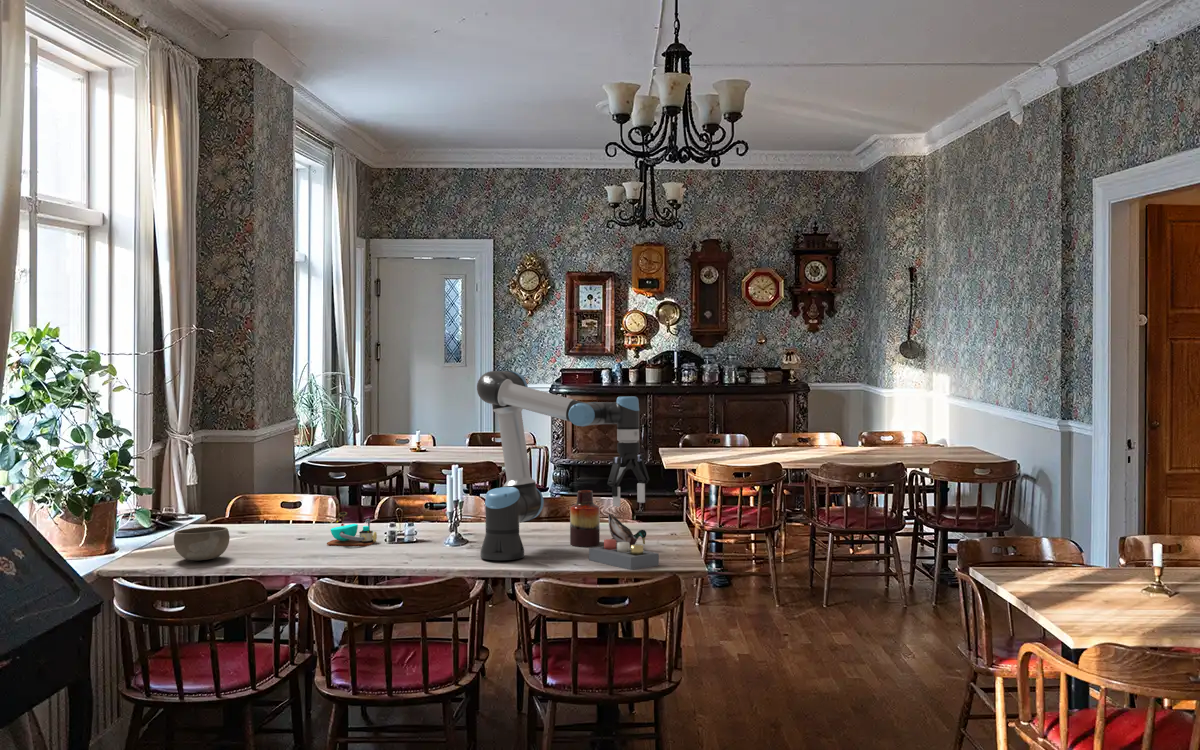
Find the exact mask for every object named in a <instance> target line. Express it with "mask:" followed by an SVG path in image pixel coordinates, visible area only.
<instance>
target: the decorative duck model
mask: <svg viewBox="0 0 1200 750" xmlns="http://www.w3.org/2000/svg"><path fill="white" fill-rule="evenodd" d="M607 519H608V526H609V533H610V535H611V537H612V538H611V539H615V540H616V545H617V542H629V543H630V548H631V545H636V543H637V541H638V539H639V538H641V539H642V545H646V537H647V530H645V529H639V530H638V531H637V532H636V533H635V534H634V533H633V532H632V530H631V529H630V528H629V527H627V526H626V525H624V524H623V523H622V522H621V521H620V520H619V519H618V518H617V517H616V516H615V515H614V514H610V513H609V514H608V518H607Z"/></svg>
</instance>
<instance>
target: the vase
mask: <svg viewBox="0 0 1200 750" xmlns="http://www.w3.org/2000/svg"><path fill="white" fill-rule="evenodd" d="M600 509H601V508H600V506H599V505H598V504H596V503H594V495H593V490H588V489H587V490H586V489H583V490H582V489H581V490H578V491H577V494H576V503H574V504H573V505H571V506H570V507H569V513H570V514H569V516H570V517H569V523H570V524H569V525H570V527H569V531H570V532H569V541H570V546H571V545H572V547H575V548H576V547H577V548H595V547H599V546H600V543H601V542H600V538H601V535H600V532H601V531H600V529H601V528H600V523H601V522H600V520H601V519H600V518H601V517H600V515H601V513H600V512H601V511H600Z"/></svg>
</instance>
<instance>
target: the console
mask: <svg viewBox="0 0 1200 750" xmlns="http://www.w3.org/2000/svg"><path fill="white" fill-rule="evenodd" d="M588 560H589V561H591V562H596V563H600V564H604V565H605V564H606V565H608V566H613V567H618V568H621V569H625V570H630V571H631V570H637V569H644V568H651V567H658V566H659V564H660V561H659V560H660V559H659V553H658V552H653V551H650V550H649V551H648V550H644V549H643V555H638V556H635V555H631V548H630V552H625V553H621V552H617V544H616V549H613V550H607V549H604V545H603V546H595V547H588Z"/></svg>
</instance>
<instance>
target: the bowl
mask: <svg viewBox="0 0 1200 750" xmlns="http://www.w3.org/2000/svg"><path fill="white" fill-rule="evenodd" d="M230 538H231V537H230V532H229V529H228V527H226V526H224V527H223V526H199V527H191V528H190V527H189V528H184V529H180V530H177V531H175V532H174V535H173V545H174V548H175V551H176V552H177V553H178V555H179V556H180V557H182V558H183V559H185V560H189V561H205V560H206V561H207V560H213V559H217V558H218V557H220V556H222V555H223V554H224V553H225V552H226V550H227V548H228V546H229V544H230Z"/></svg>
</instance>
